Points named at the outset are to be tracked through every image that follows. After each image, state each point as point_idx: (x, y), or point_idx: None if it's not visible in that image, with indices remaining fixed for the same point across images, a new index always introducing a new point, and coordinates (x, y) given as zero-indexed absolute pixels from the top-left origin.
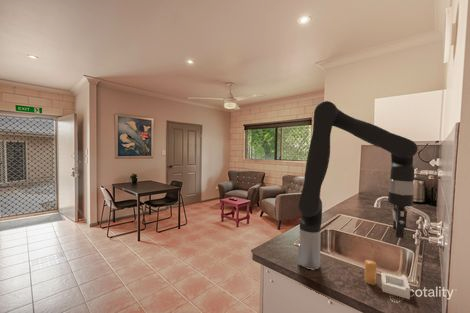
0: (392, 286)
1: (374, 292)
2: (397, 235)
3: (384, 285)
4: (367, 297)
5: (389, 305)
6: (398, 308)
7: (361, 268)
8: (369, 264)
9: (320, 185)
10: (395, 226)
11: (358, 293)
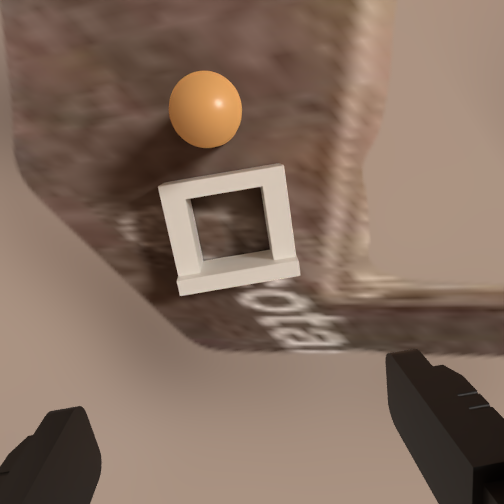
0: (167, 226)
1: (133, 150)
2: (22, 443)
3: (161, 192)
4: (64, 129)
5: (80, 215)
6: (88, 245)
7: (337, 52)
8: (170, 108)
9: None
10: (409, 405)
11: (62, 87)
